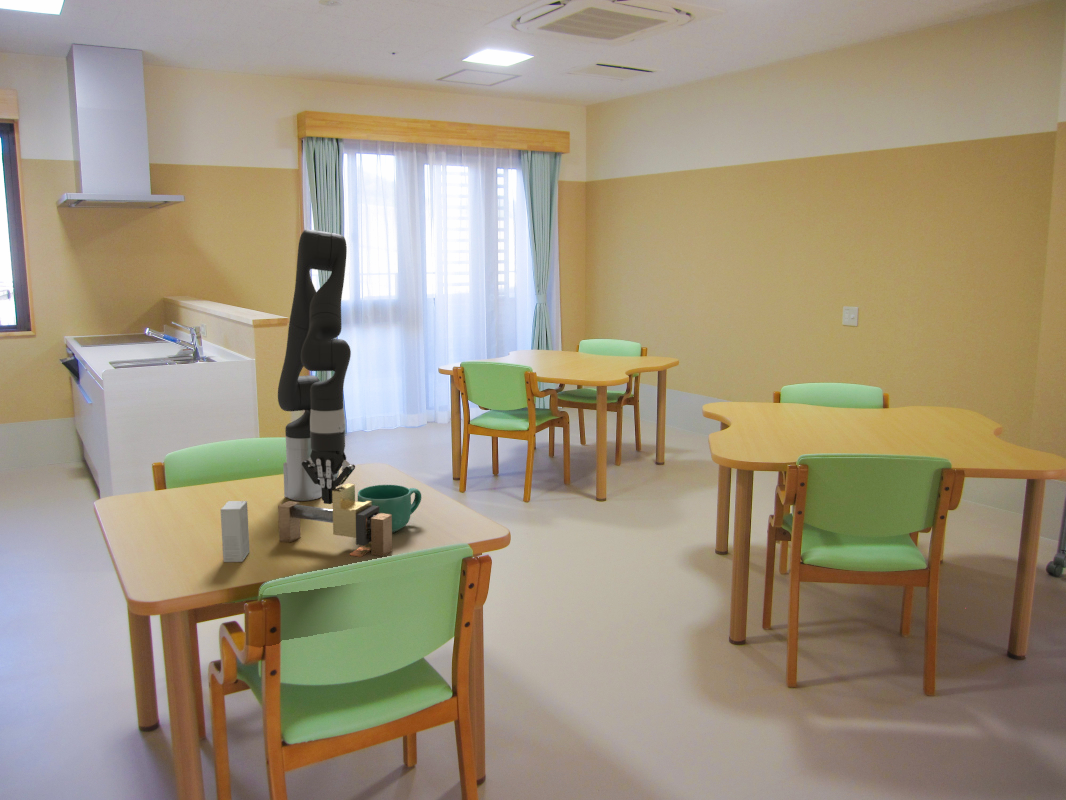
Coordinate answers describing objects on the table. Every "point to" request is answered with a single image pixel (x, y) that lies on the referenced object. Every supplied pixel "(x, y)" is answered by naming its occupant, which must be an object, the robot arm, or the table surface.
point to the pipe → (295, 511)
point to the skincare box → (235, 531)
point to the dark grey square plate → (364, 525)
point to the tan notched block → (346, 510)
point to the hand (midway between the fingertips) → (329, 502)
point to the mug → (392, 502)
